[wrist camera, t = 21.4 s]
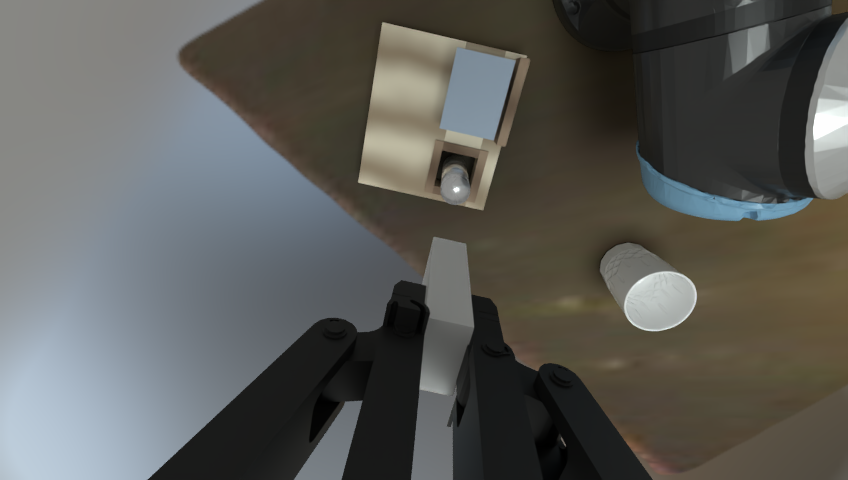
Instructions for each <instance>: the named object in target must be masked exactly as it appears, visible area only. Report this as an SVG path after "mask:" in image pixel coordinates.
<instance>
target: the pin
mask: <svg viewBox="0 0 848 480" xmlns="http://www.w3.org/2000/svg"><path fill="white" fill-rule="evenodd" d="M469 195H470V184H469V179H468V173H467V168H466V163H465V161H464V159H463V158H462V157H460V156H458V155H451V156H448V157H447V158H446V159H445V160H444V162H443V167H442V179H441V196H442V198H443V199H444V200H445V201H446V202H447V203H449V204H451V205H459V204H462V203H464V202H465V201H466V200H467V199H468V197H469Z"/></svg>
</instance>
